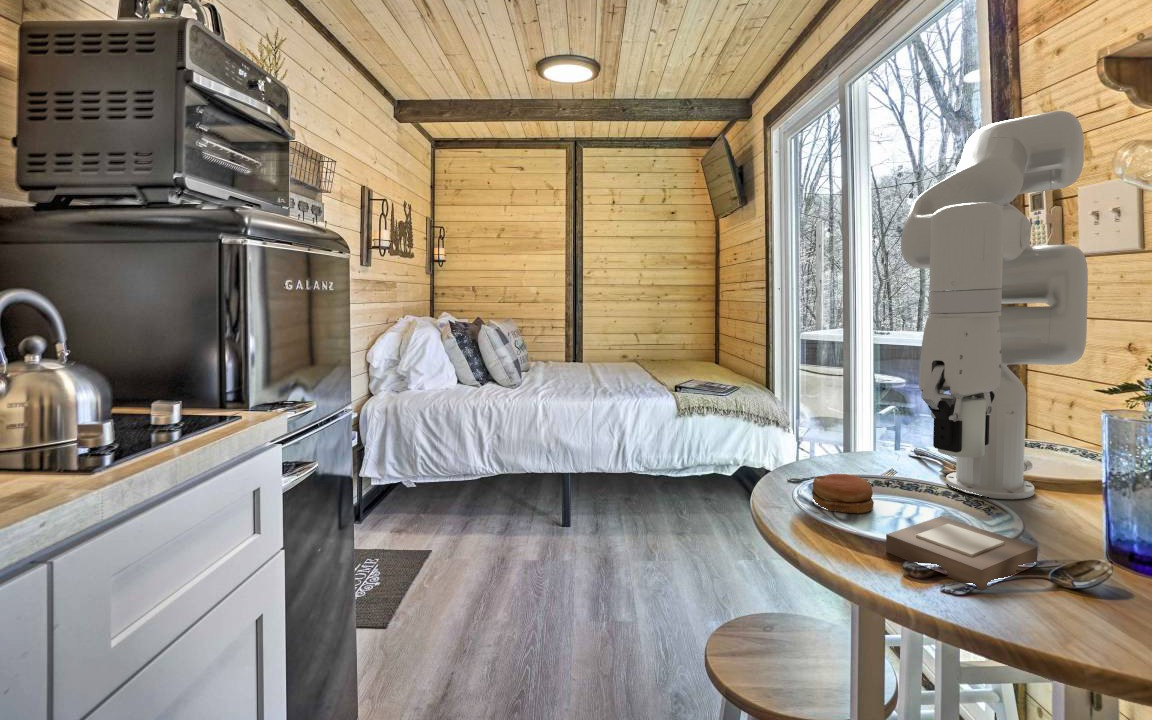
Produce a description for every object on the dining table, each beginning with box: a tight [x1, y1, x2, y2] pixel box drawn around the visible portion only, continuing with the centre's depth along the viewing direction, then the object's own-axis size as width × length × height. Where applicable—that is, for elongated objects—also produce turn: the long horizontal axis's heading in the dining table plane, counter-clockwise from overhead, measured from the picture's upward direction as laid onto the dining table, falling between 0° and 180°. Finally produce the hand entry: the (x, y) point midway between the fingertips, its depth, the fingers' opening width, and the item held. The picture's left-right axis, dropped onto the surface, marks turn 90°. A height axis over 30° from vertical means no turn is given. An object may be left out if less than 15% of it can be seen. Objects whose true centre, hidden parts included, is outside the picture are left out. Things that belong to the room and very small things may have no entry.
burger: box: [811, 473, 875, 514], centre depth 95 cm, size 10×9×5 cm
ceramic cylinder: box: [937, 396, 986, 458], centre depth 73 cm, size 5×5×7 cm
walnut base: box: [885, 515, 1038, 591], centre depth 74 cm, size 12×12×3 cm
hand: (960, 445), depth 73 cm, fingers closed on ceramic cylinder, 5 cm apart
